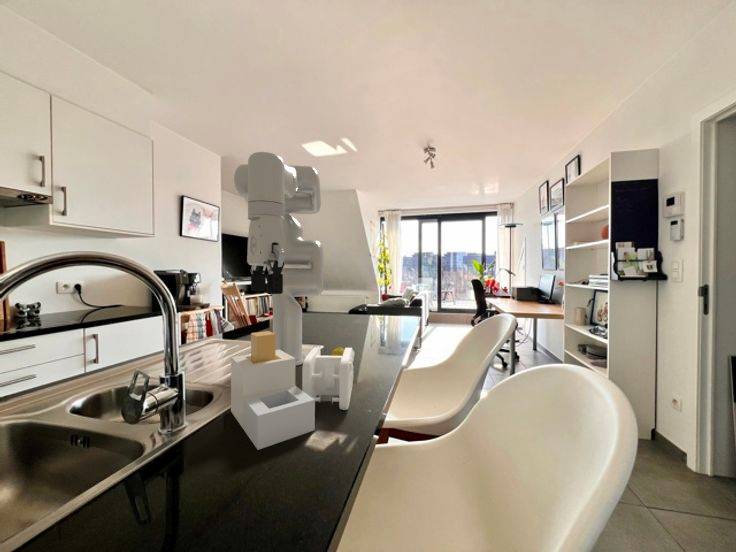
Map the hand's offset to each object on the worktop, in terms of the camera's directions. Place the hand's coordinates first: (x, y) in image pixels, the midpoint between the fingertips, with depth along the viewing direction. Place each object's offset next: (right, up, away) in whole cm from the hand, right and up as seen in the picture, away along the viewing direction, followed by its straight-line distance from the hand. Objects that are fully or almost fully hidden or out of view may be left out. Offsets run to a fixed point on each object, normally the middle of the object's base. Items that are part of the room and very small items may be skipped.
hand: (266, 292), depth 67 cm
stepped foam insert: (+2, -26, -3) cm, 27 cm away
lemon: (+13, -26, +26) cm, 39 cm away
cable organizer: (+13, -27, +7) cm, 30 cm away
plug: (-1, -17, 0) cm, 17 cm away
